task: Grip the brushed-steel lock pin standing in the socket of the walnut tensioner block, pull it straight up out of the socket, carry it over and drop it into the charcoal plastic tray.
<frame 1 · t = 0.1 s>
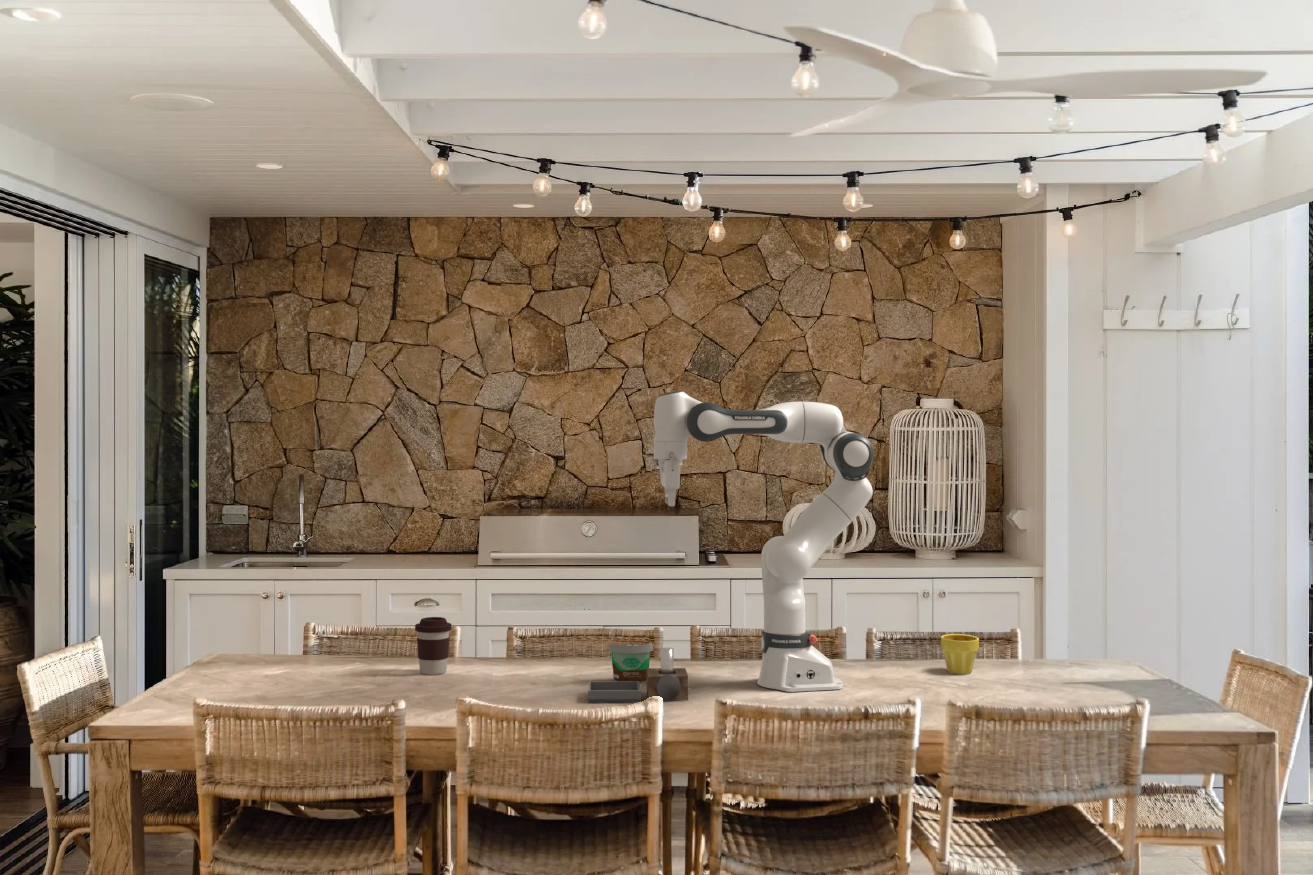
hand: (670, 504, 318), 48 cm above the table, fingers open, 8 cm apart
tensioner block: (667, 695, 306), on the table
coffee cup: (433, 673, 333), on the table
plant pot: (959, 672, 338), on the table
lock pin: (667, 687, 306), point 2 cm above the table, touching tensioner block
food container: (633, 681, 324), on the table
tray: (614, 697, 304), on the table
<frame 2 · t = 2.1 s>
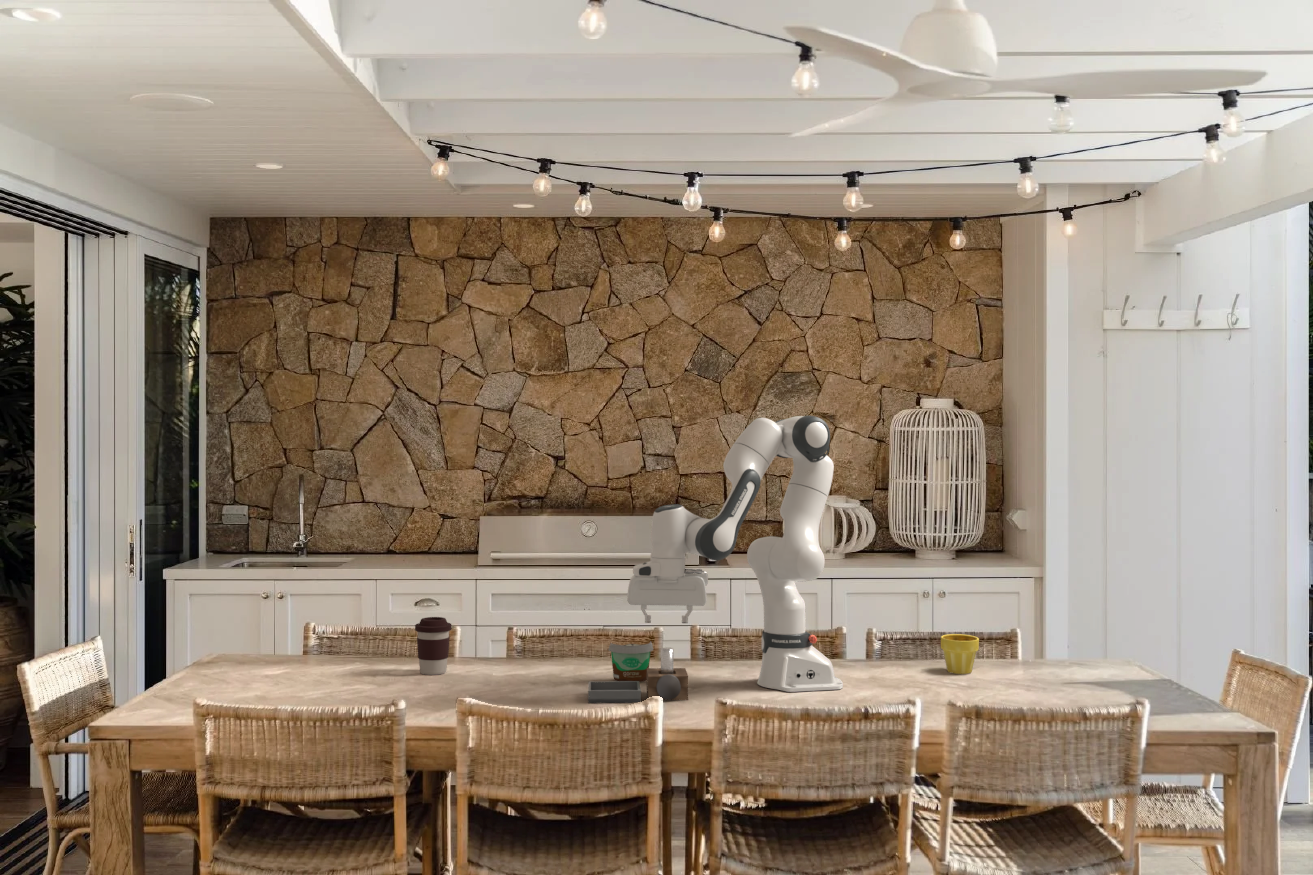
hand: (666, 622, 306), 19 cm above the table, fingers open, 8 cm apart
nothing on the table moved.
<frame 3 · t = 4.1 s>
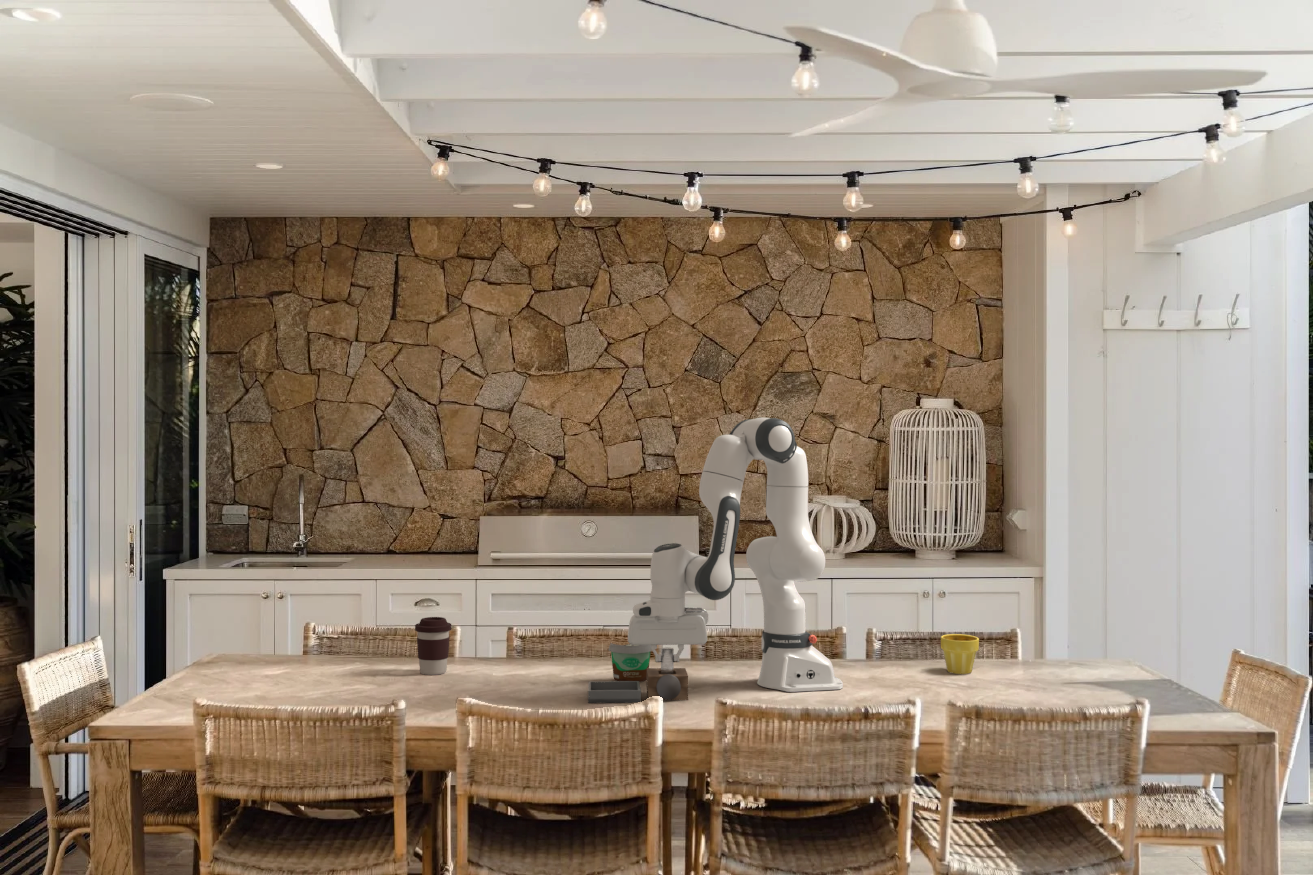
hand: (667, 661, 306), 9 cm above the table, fingers closed on lock pin, 3 cm apart
lock pin: (667, 687, 306), point 2 cm above the table, touching gripper, tensioner block
everything else where it was.
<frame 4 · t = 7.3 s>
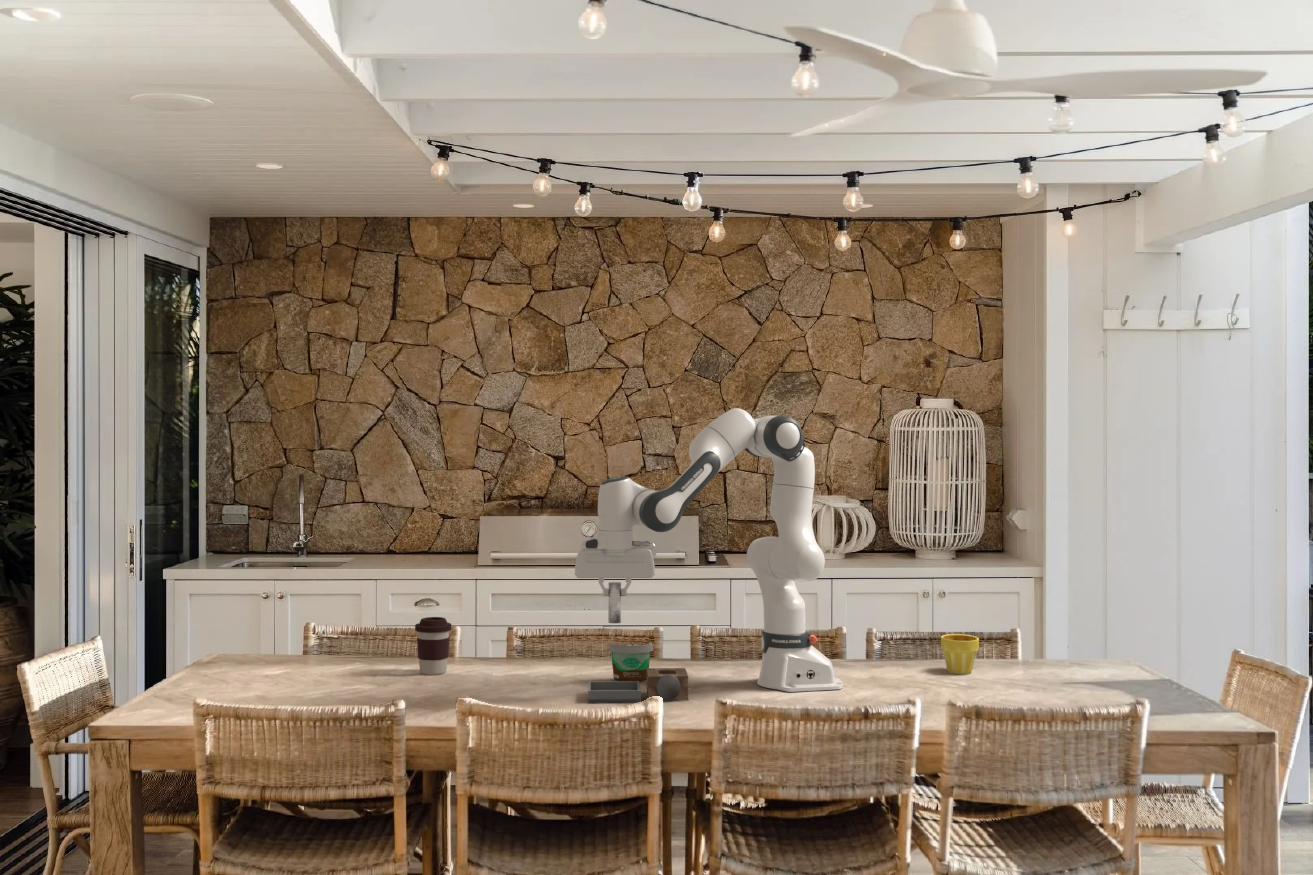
hand: (614, 595, 303), 26 cm above the table, fingers closed on lock pin, 3 cm apart
lock pin: (614, 622, 303), point 19 cm above the table, touching gripper
everything else where it was.
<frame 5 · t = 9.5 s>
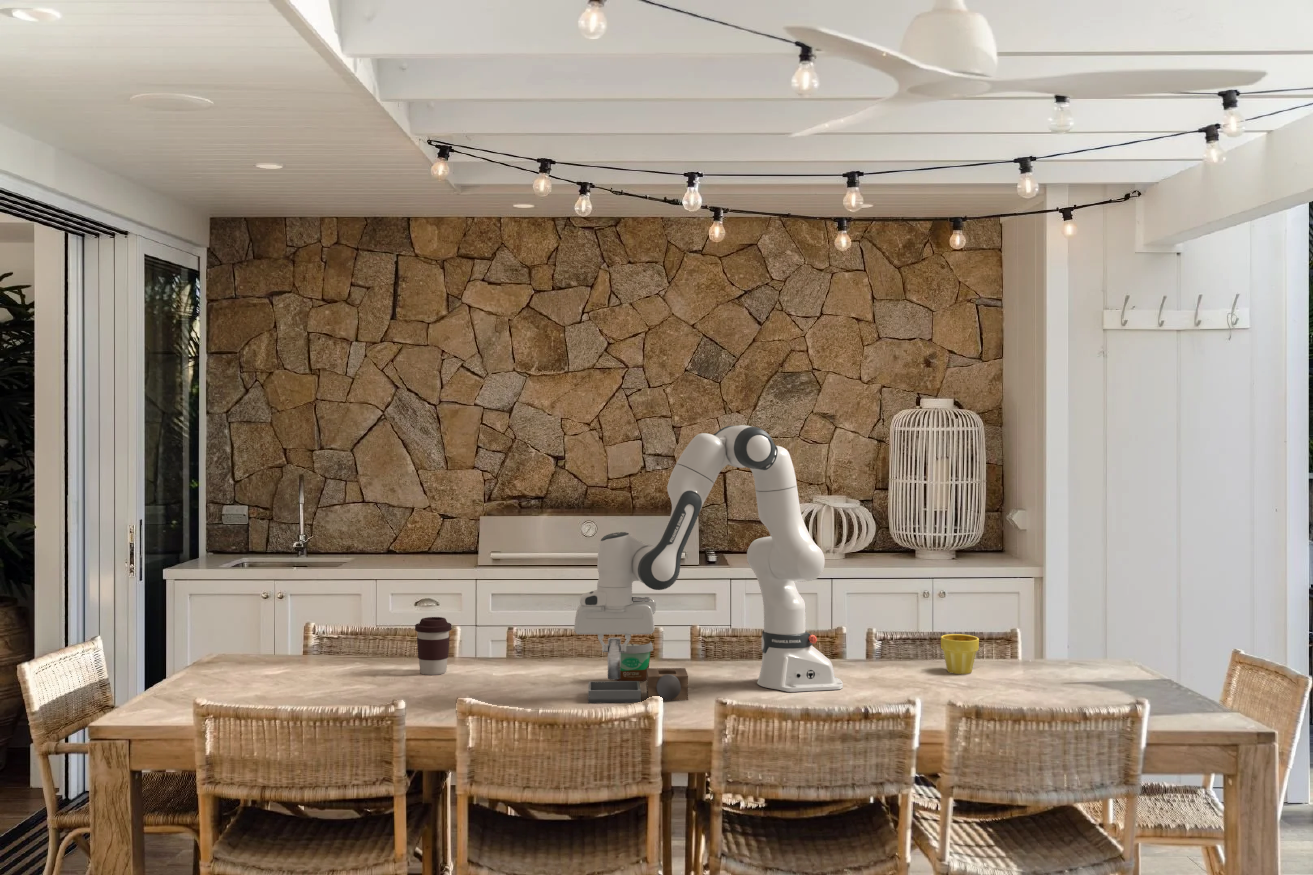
hand: (614, 651, 303), 12 cm above the table, fingers closed on lock pin, 3 cm apart
lock pin: (613, 678, 303), point 5 cm above the table, touching gripper
everything else where it was.
when the fingers open (10 cm above the table, at t = 10.8 s): lock pin drops 2 cm, resting on tray.
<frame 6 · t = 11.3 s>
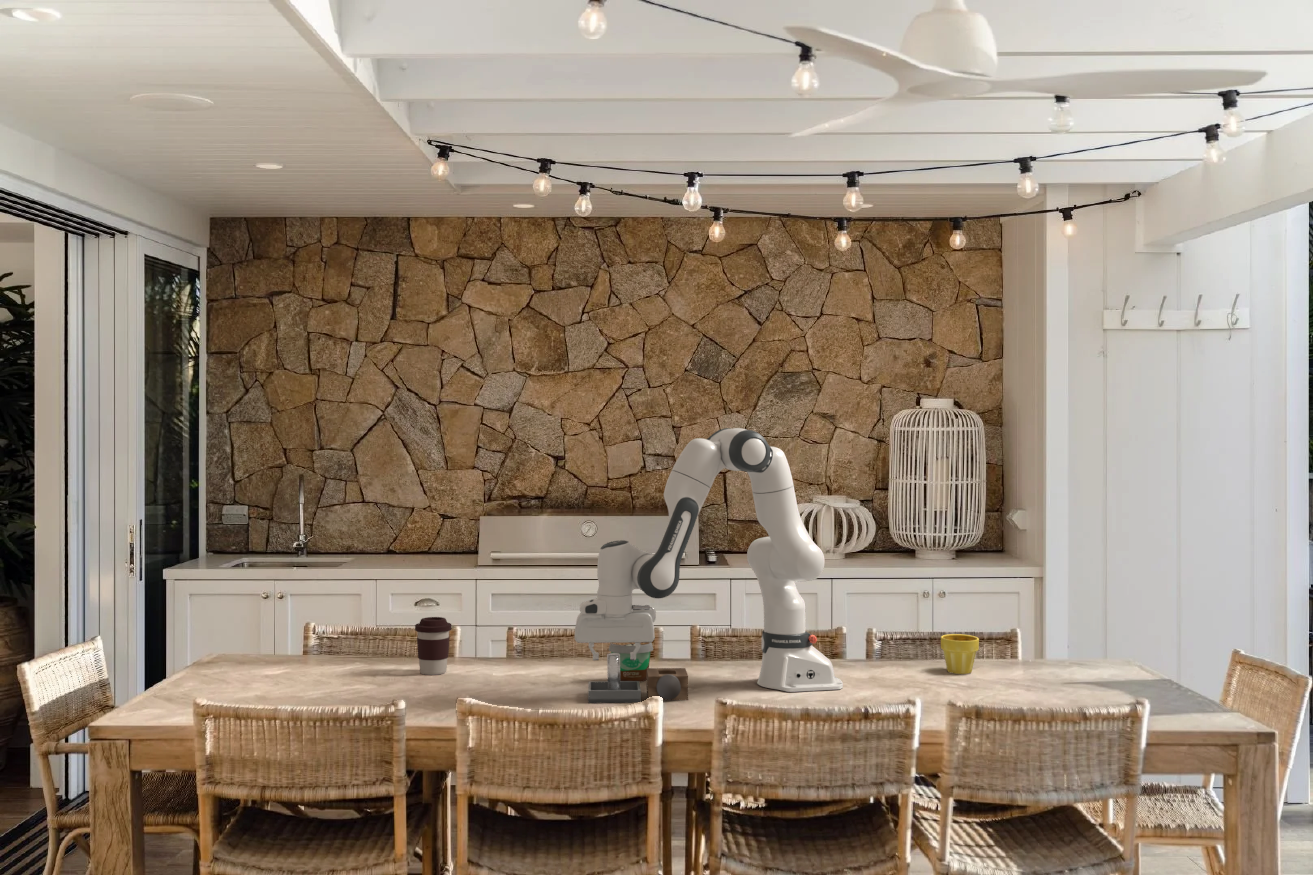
hand: (614, 659, 304), 10 cm above the table, fingers open, 8 cm apart
lock pin: (614, 693, 304), point 1 cm above the table, touching tray
everything else where it was.
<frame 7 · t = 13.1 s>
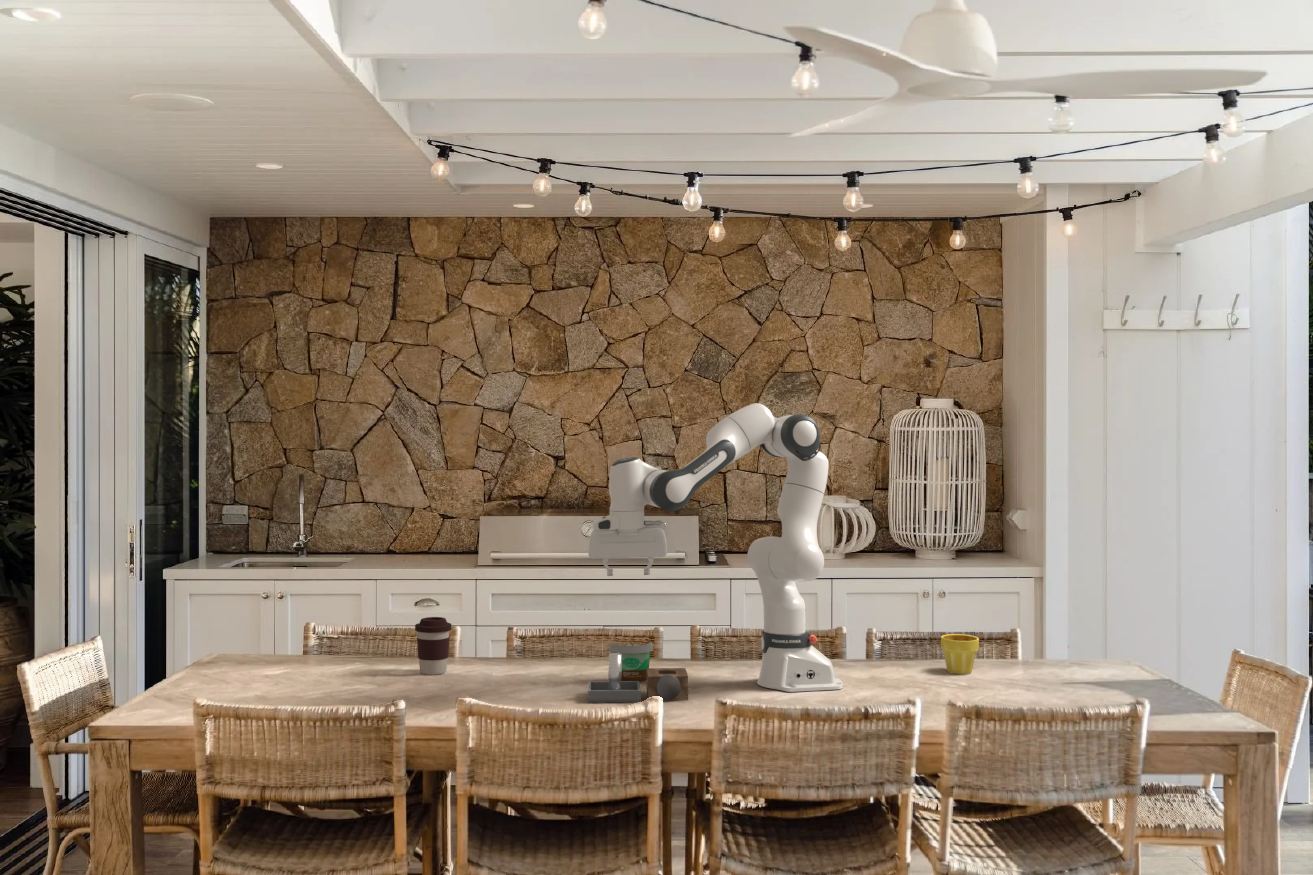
hand: (628, 575, 308), 30 cm above the table, fingers open, 8 cm apart
nothing on the table moved.
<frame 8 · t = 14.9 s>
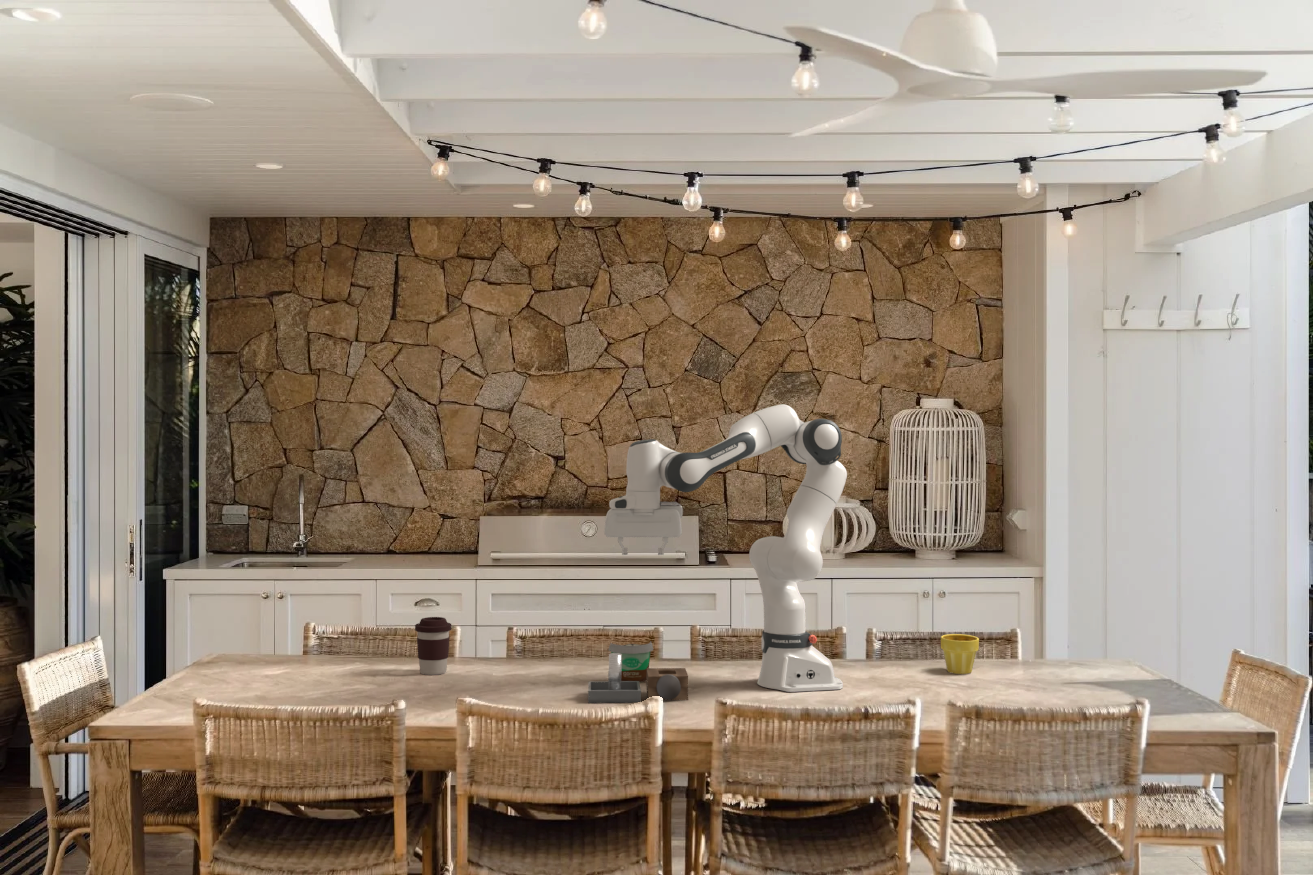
hand: (642, 554, 314), 35 cm above the table, fingers open, 8 cm apart
nothing on the table moved.
at the end: lock pin inside the target area on the tray (0.0 cm from its centre), point 1.0 cm above the tray's base; the gripper is holding nothing; lock pin touching tray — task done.
